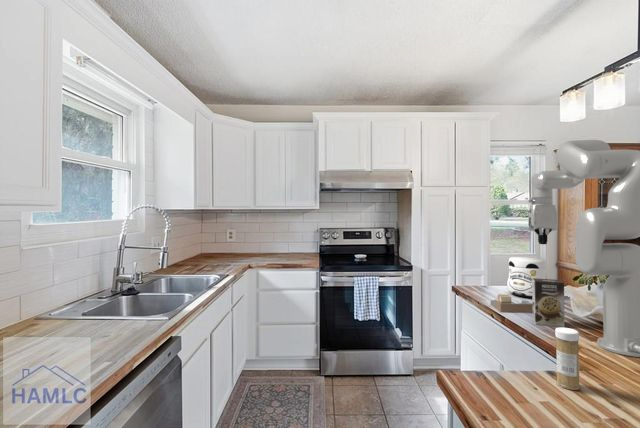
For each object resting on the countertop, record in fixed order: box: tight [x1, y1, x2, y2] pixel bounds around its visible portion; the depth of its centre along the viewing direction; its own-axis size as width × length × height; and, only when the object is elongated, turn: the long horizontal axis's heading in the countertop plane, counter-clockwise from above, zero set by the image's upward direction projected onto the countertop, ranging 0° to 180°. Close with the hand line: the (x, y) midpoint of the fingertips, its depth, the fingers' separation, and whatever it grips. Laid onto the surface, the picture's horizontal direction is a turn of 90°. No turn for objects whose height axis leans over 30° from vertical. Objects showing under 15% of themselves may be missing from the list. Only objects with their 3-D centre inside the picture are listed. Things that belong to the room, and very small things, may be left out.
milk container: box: [506, 256, 547, 299], centre depth 163 cm, size 17×17×18 cm
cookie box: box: [531, 278, 565, 328], centre depth 123 cm, size 9×6×16 cm
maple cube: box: [496, 293, 512, 304], centre depth 141 cm, size 4×4×4 cm
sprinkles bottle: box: [554, 326, 581, 391], centre depth 80 cm, size 5×5×14 cm
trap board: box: [490, 299, 532, 314], centre depth 141 cm, size 11×15×4 cm
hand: (542, 244), depth 144 cm, fingers closed
